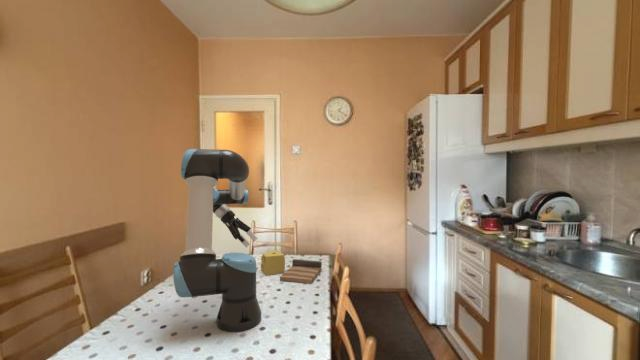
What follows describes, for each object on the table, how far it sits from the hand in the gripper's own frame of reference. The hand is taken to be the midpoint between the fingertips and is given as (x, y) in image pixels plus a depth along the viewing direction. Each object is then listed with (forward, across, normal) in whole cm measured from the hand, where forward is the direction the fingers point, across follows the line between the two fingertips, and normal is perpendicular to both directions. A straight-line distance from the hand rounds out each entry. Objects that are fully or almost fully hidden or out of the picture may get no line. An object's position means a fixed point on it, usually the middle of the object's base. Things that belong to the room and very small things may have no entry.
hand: (252, 242), depth 156 cm
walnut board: (+30, +5, +9) cm, 32 cm away
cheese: (+19, 0, -3) cm, 19 cm away
